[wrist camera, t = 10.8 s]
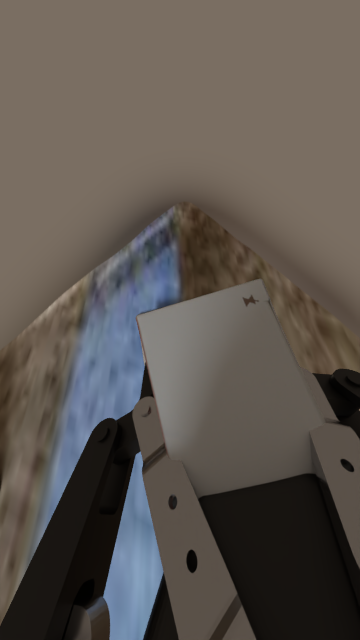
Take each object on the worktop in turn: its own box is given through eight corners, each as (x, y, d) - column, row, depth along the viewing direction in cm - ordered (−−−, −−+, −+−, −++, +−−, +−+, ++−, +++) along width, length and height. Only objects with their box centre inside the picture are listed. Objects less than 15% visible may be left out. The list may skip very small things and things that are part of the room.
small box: (168, 334, 16) (130, 309, 5) (213, 321, 16) (263, 271, 5) (187, 407, 14) (186, 578, 4) (238, 392, 14) (382, 521, 4)
